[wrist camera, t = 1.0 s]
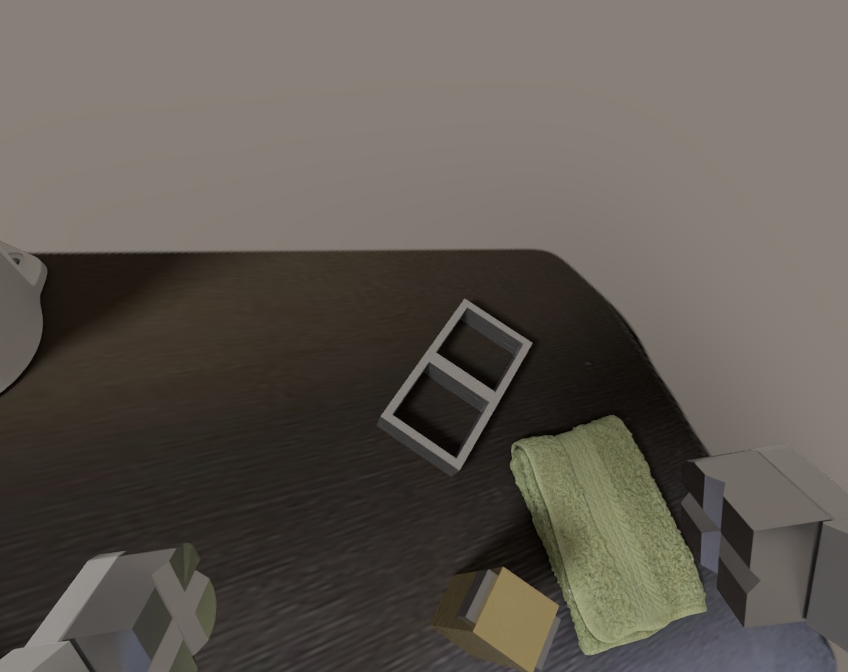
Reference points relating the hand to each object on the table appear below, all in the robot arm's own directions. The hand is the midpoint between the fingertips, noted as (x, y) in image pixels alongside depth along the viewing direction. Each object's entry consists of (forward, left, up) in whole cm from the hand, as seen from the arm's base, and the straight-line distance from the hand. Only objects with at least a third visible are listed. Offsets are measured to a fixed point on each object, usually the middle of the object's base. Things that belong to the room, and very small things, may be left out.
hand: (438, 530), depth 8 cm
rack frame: (0, +20, -34) cm, 40 cm away
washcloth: (+17, +17, -35) cm, 42 cm away
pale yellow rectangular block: (+10, +4, -34) cm, 36 cm away
